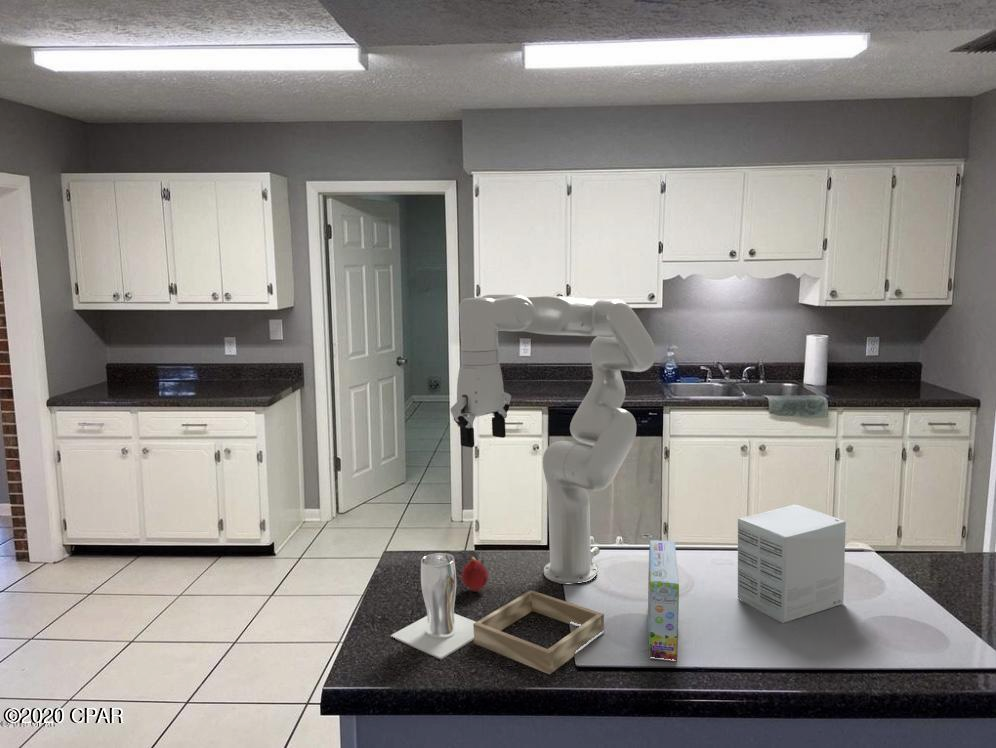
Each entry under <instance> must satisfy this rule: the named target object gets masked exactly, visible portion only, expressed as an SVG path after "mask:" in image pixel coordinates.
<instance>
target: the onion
mask: <svg viewBox="0 0 996 748" xmlns="http://www.w3.org/2000/svg"><path fill="white" fill-rule="evenodd" d="M488 573H489V572H488V570H487V568H486V567H485V565H484V564H483V563H482V562H481V561H479V560H477V559H476V557H474V556H471V560H470V561H469V562H467V564H466V565H465V566H464V567H463V570H462V573H461V580H462V582H463V584H464V585H465V587H467V588H468V590H471V591H472V592H475V593H476V592H478V591H480V590H481V589H482V588H484V587H485V586H486V585H487V582H488V577H489V574H488Z"/></svg>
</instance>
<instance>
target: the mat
mask: <svg viewBox="0 0 996 748" xmlns="http://www.w3.org/2000/svg"><path fill="white" fill-rule="evenodd" d="M454 618H455V622H456V626H457V631H456V633H455V634H454V635H452V636H450V637H448V638H443V639H436V638H432V637H430V636H428V635H427V633H426V628H427V615H425V616H424V617H422V618H420V619H418V620H416V621H415V622H412V623H411V624H408V625H407V626H405V627H404V628H401V629H400V630H398V631H396V632H394V633H392V634H391V635H390V638H392V637H393V639H394V638H395V640H397V641H398V642H401V643H403V644H405V645H407V646H410V647H412V648H413V649H414V648H415V649H417V650H419V651H421V652H424V653H425V654H428V655H430V656H433V658H437V659H438V660H443V659H445V658H446V657H448V656H449V655H452V654H453V653H454V652H456V651H457V650H459V649H461V648H463V647H464V646H466V645H467V644H469V643H471V642H473V641H474V628H473V624H474V623H476V622H477V621H475V620H472V619H470V618H468V617H464V616H463V615H459V614H457V613H455V612H454Z"/></svg>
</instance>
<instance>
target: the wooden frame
mask: <svg viewBox="0 0 996 748" xmlns="http://www.w3.org/2000/svg"><path fill="white" fill-rule="evenodd" d="M531 612H534V613H536V614H540V615H542V616H545V617H548V618H551V619H554V620H557V621H560V622H562V623H565V624H567V625H570V624H569V623H570V622H571V621H572V622H574V623H577V624H581V626H580V627H577V628H576V629H574V630H573V631H571V632H570V633H568V634H567V635H566V636H564V637H563V638H561V639H560V640H559V641H557V642H556V643H554V644H553V645H552V646H550V647H548V648H546V647H543V646H541V645H538V644H536V643H532V642H530V641H528V640H525V639H522V638H520V637H517V636H514V635H512V634H509V633H507V632H505V631H503V630H505V629H506V628H508V627H509V626H511V625H512V624H514V623H515V622H517V621H518V620H520V619H521V618H524V617H525V616H527V615H528V614H531ZM604 614H605V613H603V612H599V611H596V610H593V609H589V608H587V607H584V606H581V605H578V604H575V603H571V602H568V601H565V600H562V599H558V597H557V598H556V597H552V596H550V595H547V594H544V593H540V592H538V591H536V590H529V591H526V592H524V593H523V594H521V595H519V596H518V597H517V598H515V599H513V600H511V601H510V602H508V603H506V604H505V605H503V606H500V607H499V608H498V609H496V610H495V611H492V612H491V613H489V614H488V615H485V616H484V617H483V618H481V619H479V620H478V621H475V622H476V623H474V624H473V628H474V640H473V644H475V645H477V646H480V647H482V648H484V649H487V650H489V651H492V652H494V653H497V654H498V655H502V656H504V657H506V658H508V659H512V660H513V661H516V662H517V663H521V664H523V665H525V666H528V667H531V668H534V669H535V670H538V671H540V672H542V673H545V674H548V675H551V674H553V673H554V672H555V671H556V670H558V669H559V668H560V667H562V666H563V665H565V663H567V662H568V661H570V660H571V659H573V657H575V656H574V654H575V652H576V650H578V649H579V648H580V647H581V646H583V645H584V644H586V643H587V642H588V641H589V640H591V639H592V638H594V637H595V636H596V635H598V634H599V633H600V632H602V631H603V630H604V631H605V615H604Z"/></svg>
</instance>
